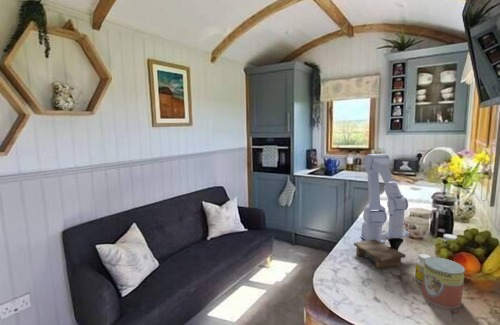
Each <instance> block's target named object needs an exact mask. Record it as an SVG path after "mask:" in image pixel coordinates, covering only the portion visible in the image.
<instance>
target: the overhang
mask: <svg viewBox="0 0 500 325" xmlns="http://www.w3.org/2000/svg"><path fill="white" fill-rule="evenodd" d="M353 246H355V247H356V250H355V252H356V253H355V255H356V256H357V257H359V256H360V257H365V256H366V258H367V259H369V260H370V261H371V262H374V263H375V265H374V266H375V268H376V269H377V270H380V269H384V268H389V267H393V266H398V265H401V263H402V259H404V258H406V254H404V253H402V252H400V251H399V250H398V251H397V250H395V249H393V248H391V246H389V245H387V244H385V243H384V242H382V243H381V242H379V241H377V240H375V239H374V240H368V241H366V240H363V241H359V242H357V241H356V242H353Z"/></svg>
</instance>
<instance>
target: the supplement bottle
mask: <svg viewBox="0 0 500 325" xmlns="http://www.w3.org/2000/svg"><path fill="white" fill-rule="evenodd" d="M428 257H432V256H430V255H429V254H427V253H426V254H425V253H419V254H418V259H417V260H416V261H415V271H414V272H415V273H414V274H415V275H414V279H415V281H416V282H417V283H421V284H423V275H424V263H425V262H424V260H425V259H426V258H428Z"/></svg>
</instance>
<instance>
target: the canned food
mask: <svg viewBox="0 0 500 325" xmlns="http://www.w3.org/2000/svg"><path fill="white" fill-rule="evenodd" d="M424 262H425V263H424V275H423V283H422V287H421V295H422V297H423V298H424V299H425V300H426V301H428V302H429V303H431V304H433V305H436V306H438V307H441V308H445V309H458V308H460V307H462V304H463V302H462V299H463V289H464V280H465V272H466V268H465V267H464V266H463V265H462V264H460V263H459V262H458V263H457V262H455V261H452V260H449V259H445V258H440V257H439V256H431V257H428V258H426V259H425V260H424Z"/></svg>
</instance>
